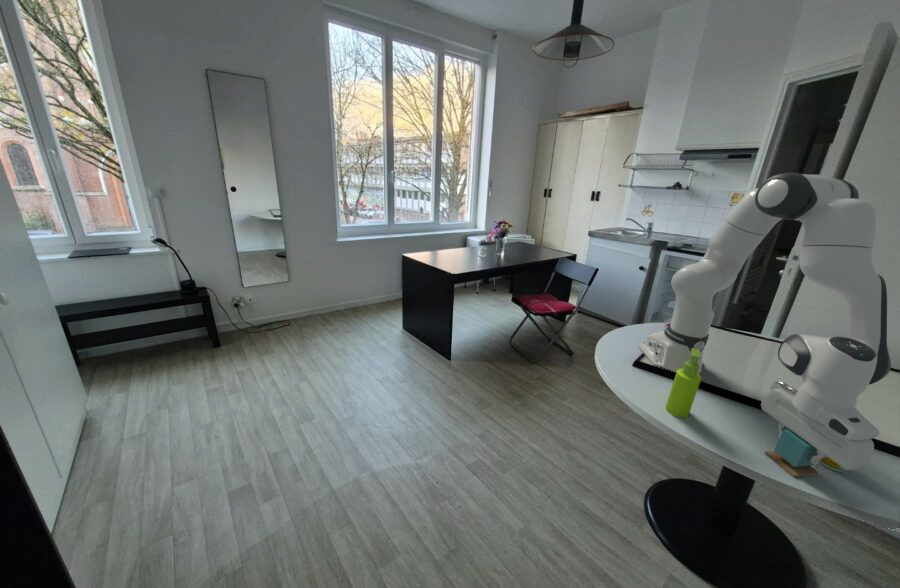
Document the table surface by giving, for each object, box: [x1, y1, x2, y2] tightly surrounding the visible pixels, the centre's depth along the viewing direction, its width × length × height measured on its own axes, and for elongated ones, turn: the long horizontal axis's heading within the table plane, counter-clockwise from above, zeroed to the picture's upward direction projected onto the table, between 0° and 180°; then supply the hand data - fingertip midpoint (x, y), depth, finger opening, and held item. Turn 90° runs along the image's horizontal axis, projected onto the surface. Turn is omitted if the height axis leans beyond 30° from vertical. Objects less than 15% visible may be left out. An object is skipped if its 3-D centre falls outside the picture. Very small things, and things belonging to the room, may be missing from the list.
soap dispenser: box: [665, 348, 702, 419], centre depth 98 cm, size 6×7×20 cm
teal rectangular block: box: [773, 429, 819, 467], centre depth 82 cm, size 5×5×7 cm
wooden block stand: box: [764, 450, 820, 478], centre depth 83 cm, size 7×7×7 cm
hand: (797, 450), depth 83 cm, fingers closed on teal rectangular block, 5 cm apart
